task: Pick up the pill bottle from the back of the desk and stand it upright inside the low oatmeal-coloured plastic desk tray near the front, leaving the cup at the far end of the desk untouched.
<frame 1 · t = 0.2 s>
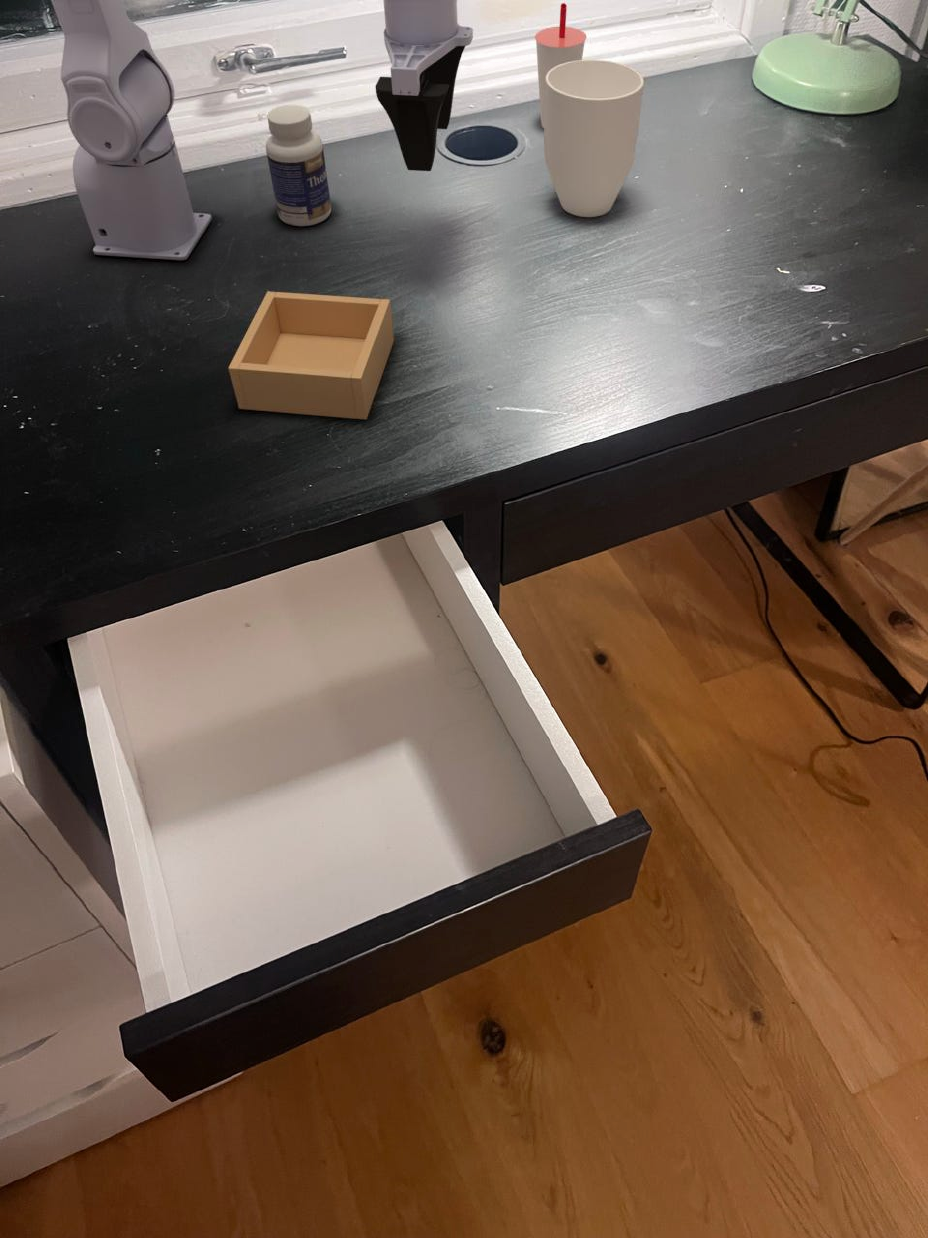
hand: (428, 147, 83), 10 cm above the table, tool pointing down, fingers open, 7 cm apart
cup: (556, 126, 107), on the table
desk tray: (319, 373, 80), on the table
pill bottle: (305, 215, 96), on the table
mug: (579, 200, 96), on the table
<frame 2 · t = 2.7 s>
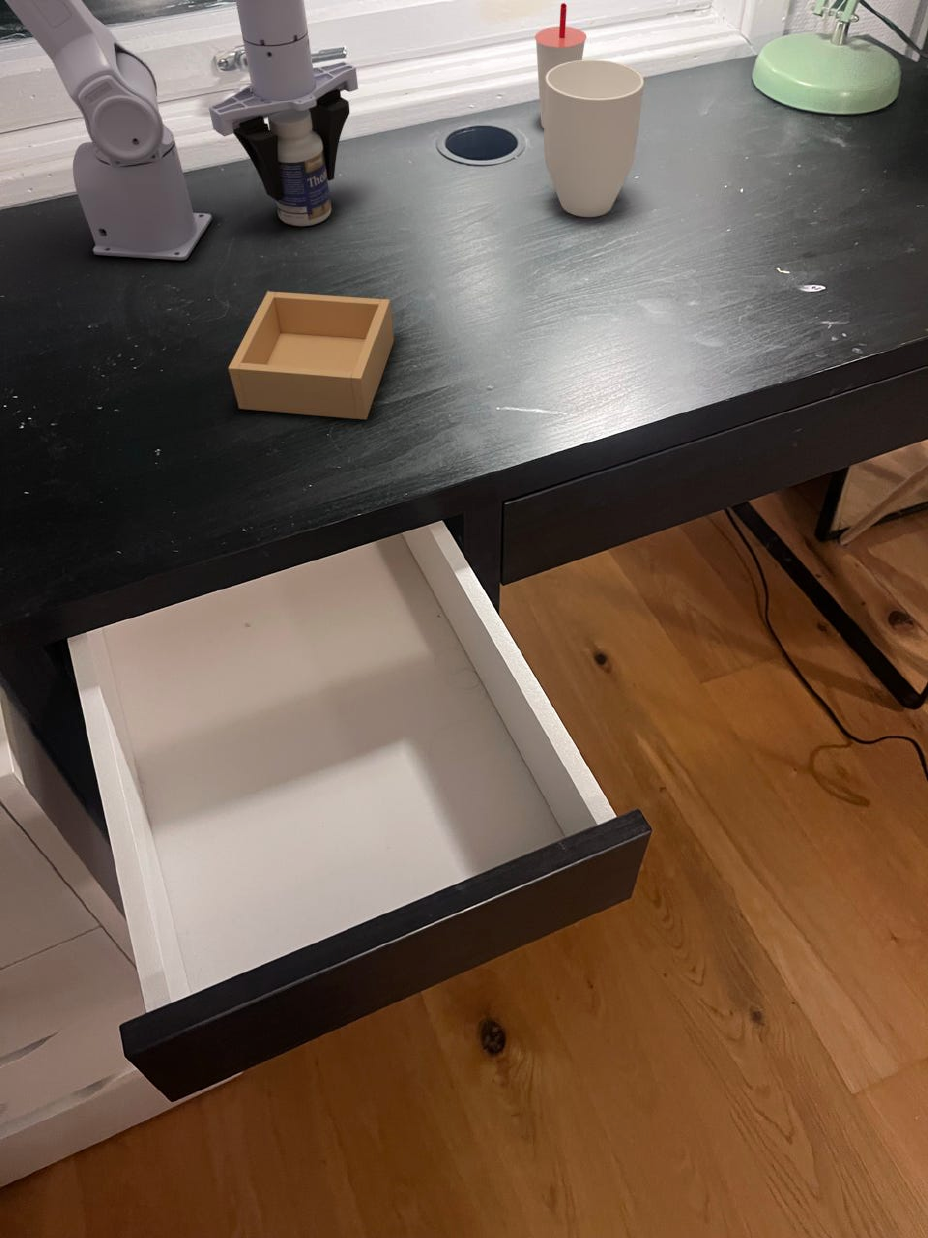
hand: (300, 185, 94), 3 cm above the table, tool pointing down, fingers closed on pill bottle, 5 cm apart
pill bottle: (305, 215, 96), on the table, touching gripper
everything else where it was.
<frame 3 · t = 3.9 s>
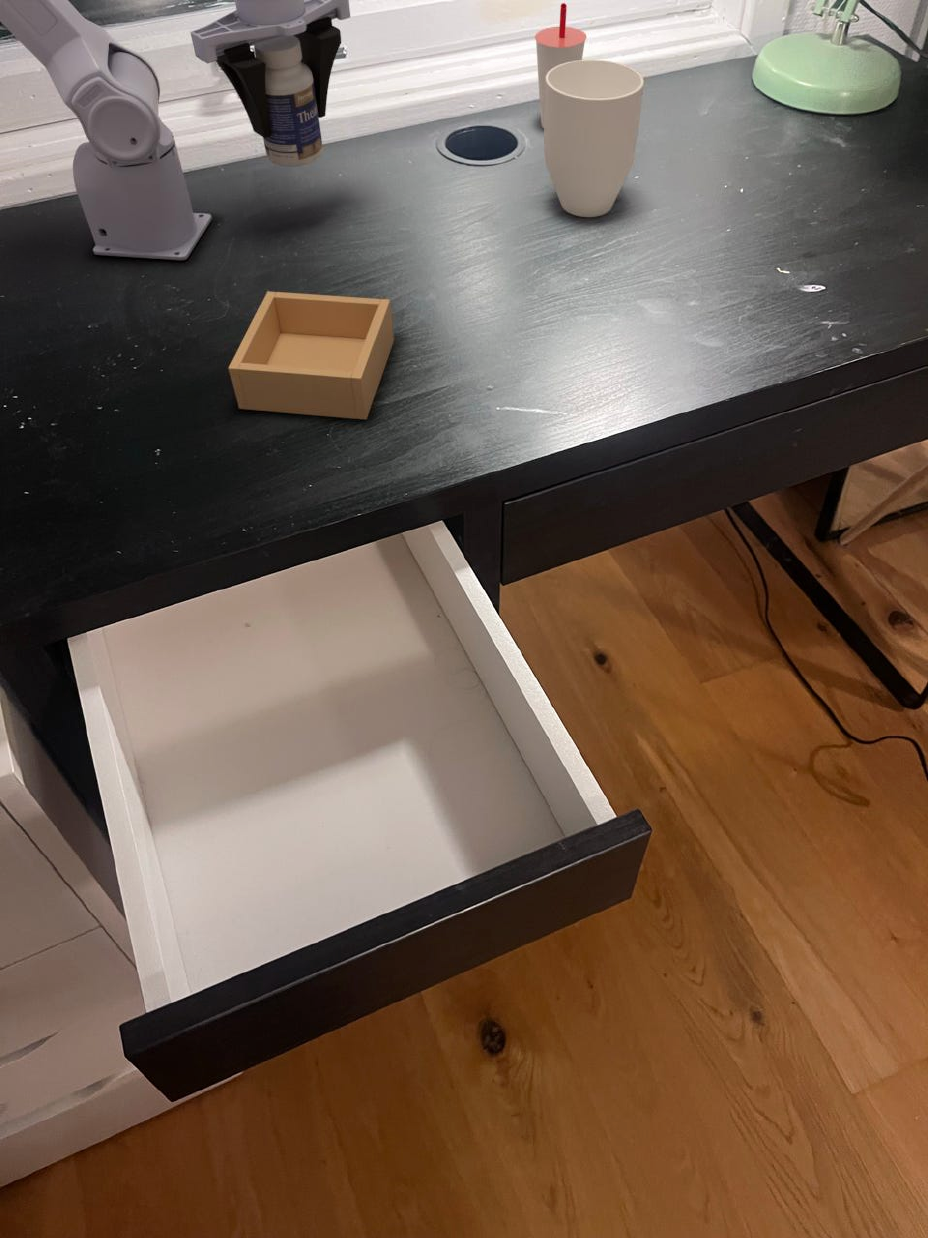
hand: (289, 123, 88), 9 cm above the table, tool pointing down, fingers closed on pill bottle, 5 cm apart
pill bottle: (295, 156, 91), point 6 cm above the table, touching gripper
everything else where it was.
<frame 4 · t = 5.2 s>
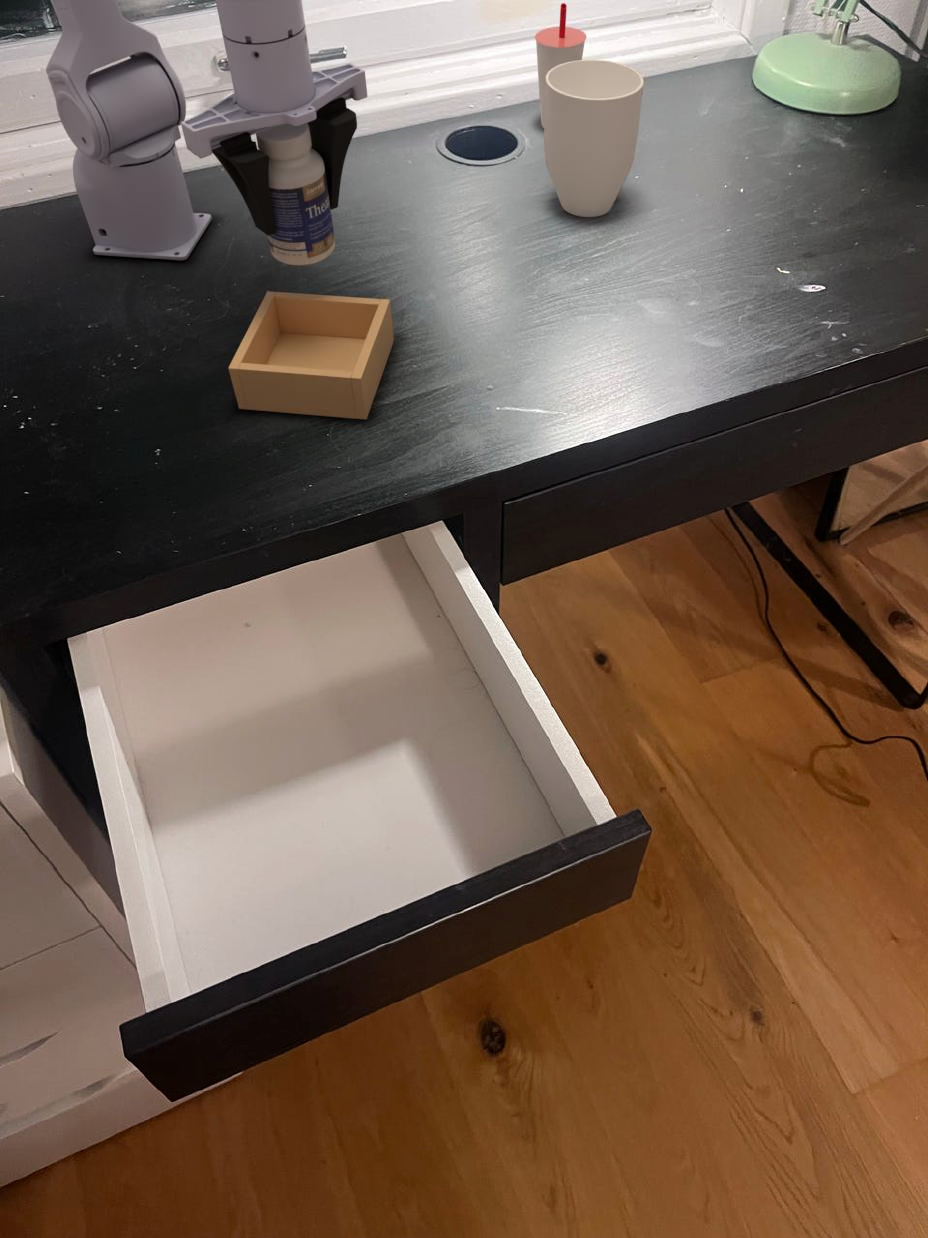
hand: (296, 216, 76), 10 cm above the table, tool pointing down, fingers closed on pill bottle, 5 cm apart
pill bottle: (304, 252, 79), point 7 cm above the table, touching gripper
everything else where it was.
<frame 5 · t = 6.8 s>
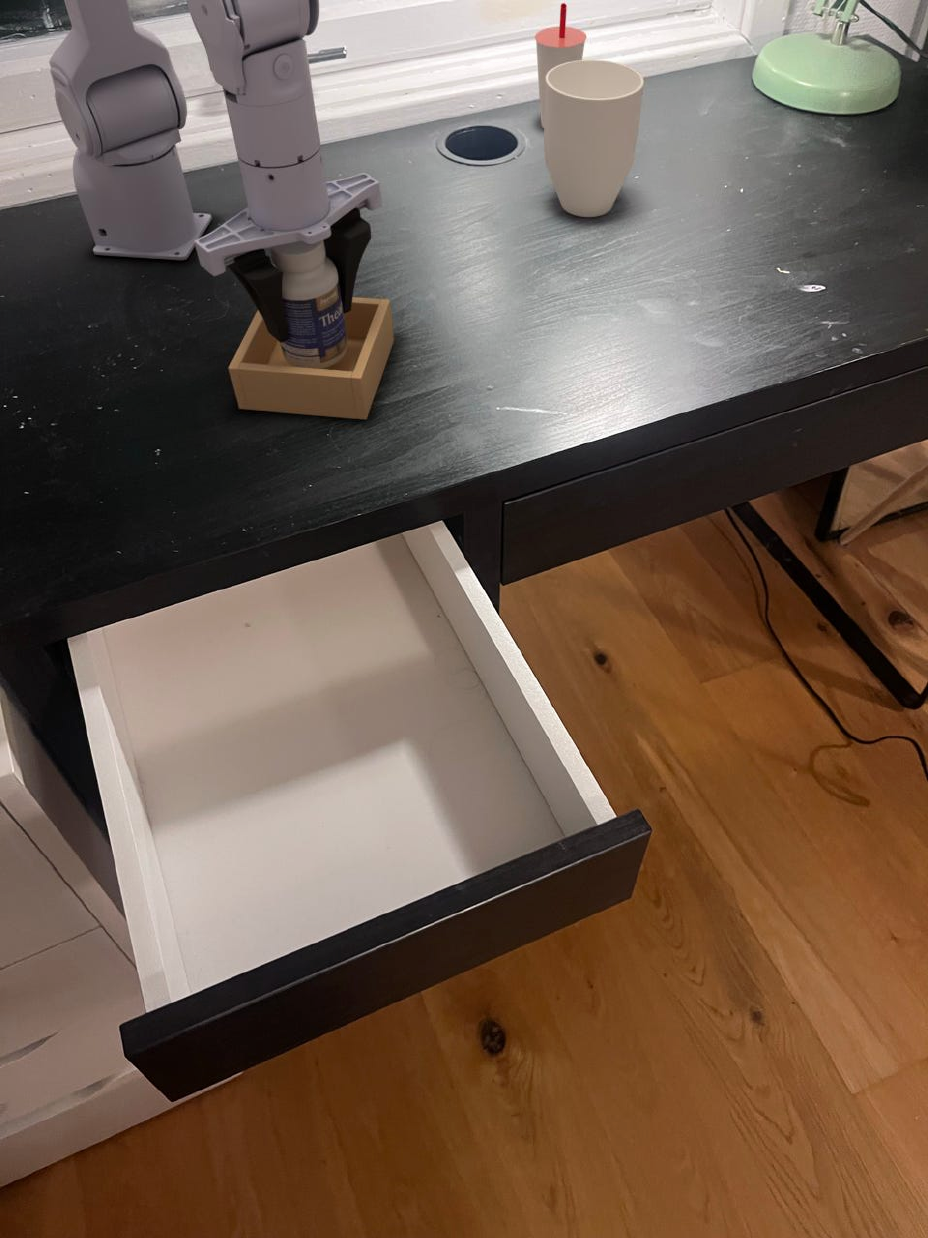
hand: (309, 321, 76), 5 cm above the table, tool pointing down, fingers closed on pill bottle, 5 cm apart
pill bottle: (316, 353, 78), point 2 cm above the table, touching gripper
everything else where it was.
when the fingers open (3 cm above the table, at t = 7.9 s): pill bottle stays where it is, resting on desk tray.
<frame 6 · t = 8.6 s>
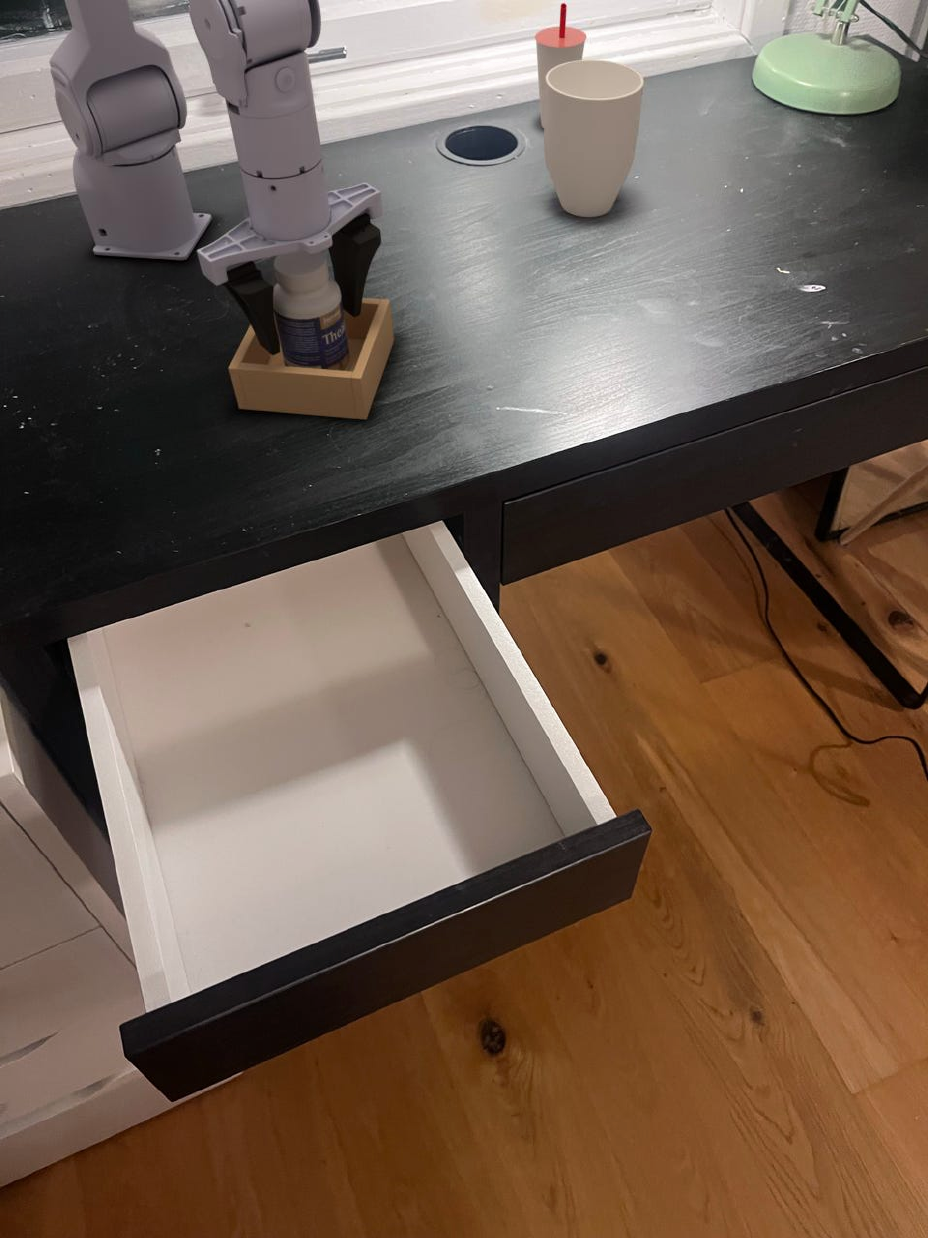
hand: (310, 329, 76), 4 cm above the table, tool pointing down, fingers open, 7 cm apart
pill bottle: (319, 370, 79), resting on desk tray
everything else where it was.
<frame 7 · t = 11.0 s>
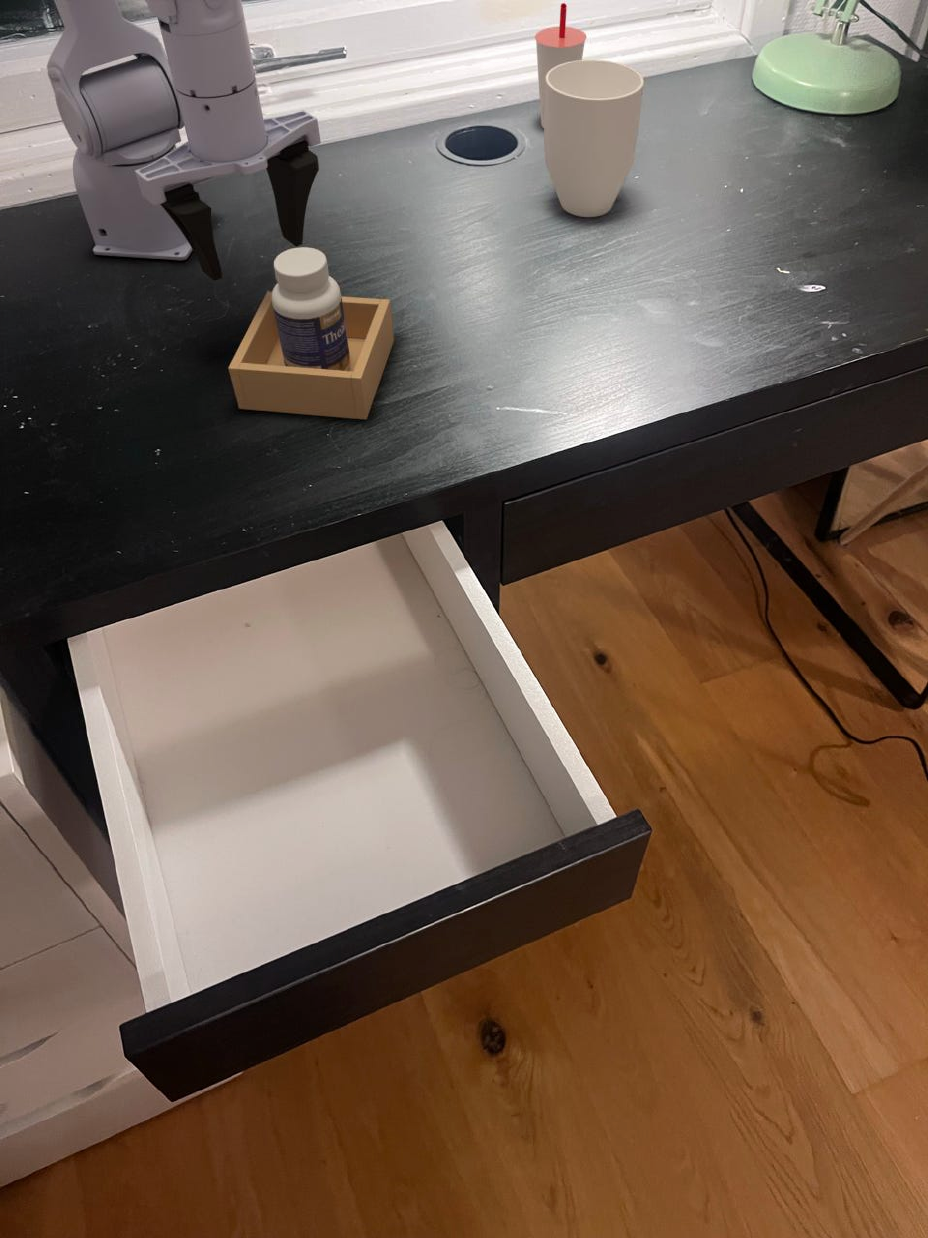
hand: (253, 257, 78), 7 cm above the table, tool pointing down, fingers open, 7 cm apart
nothing on the table moved.
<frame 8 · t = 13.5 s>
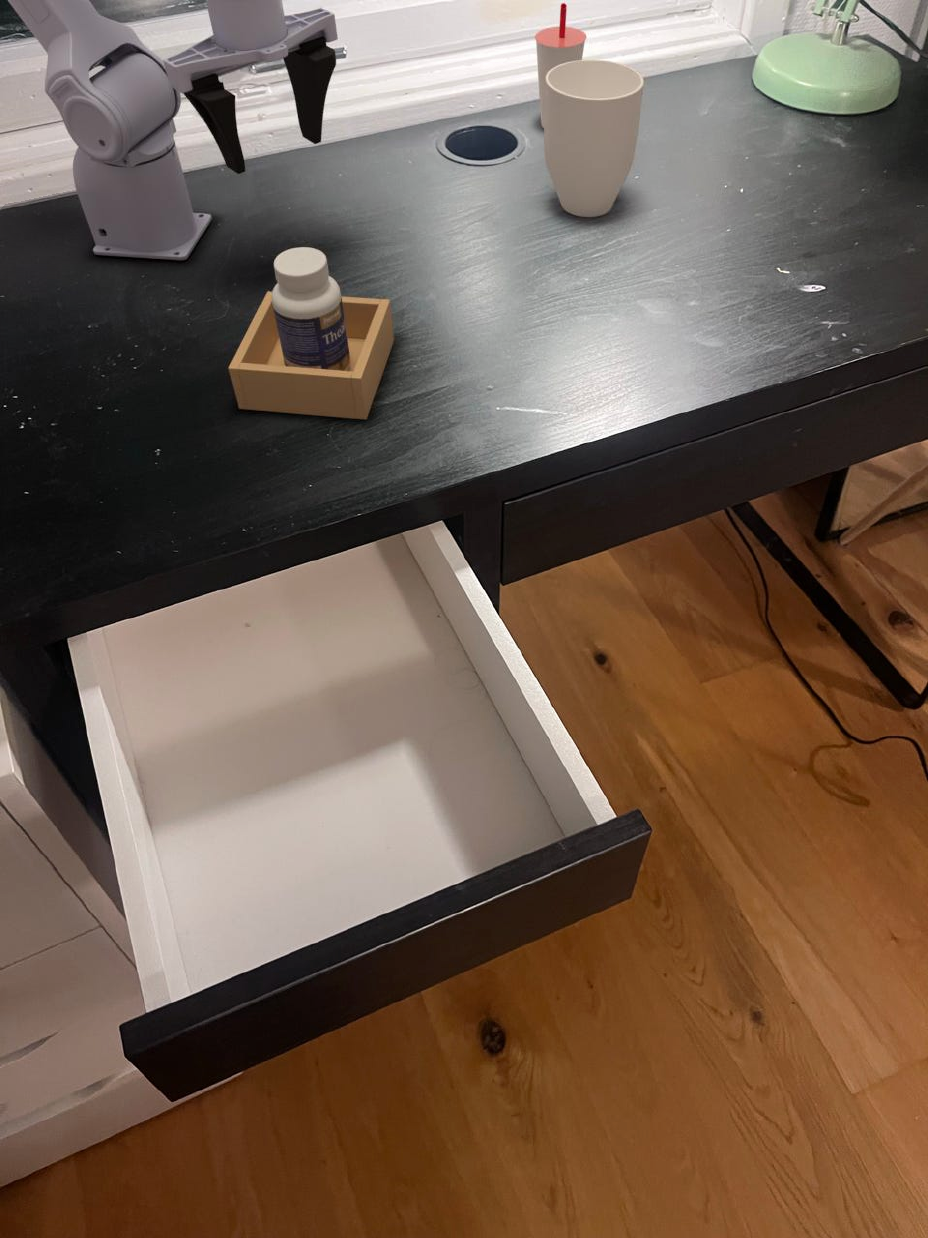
hand: (274, 153, 82), 10 cm above the table, tool pointing down, fingers open, 7 cm apart
nothing on the table moved.
at the end: pill bottle inside the target area in the desk tray (0.1 cm from its centre), point 0.3 cm above the desk tray's base; pill bottle tilted 0°; cup moved 0.2 cm from its start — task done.
